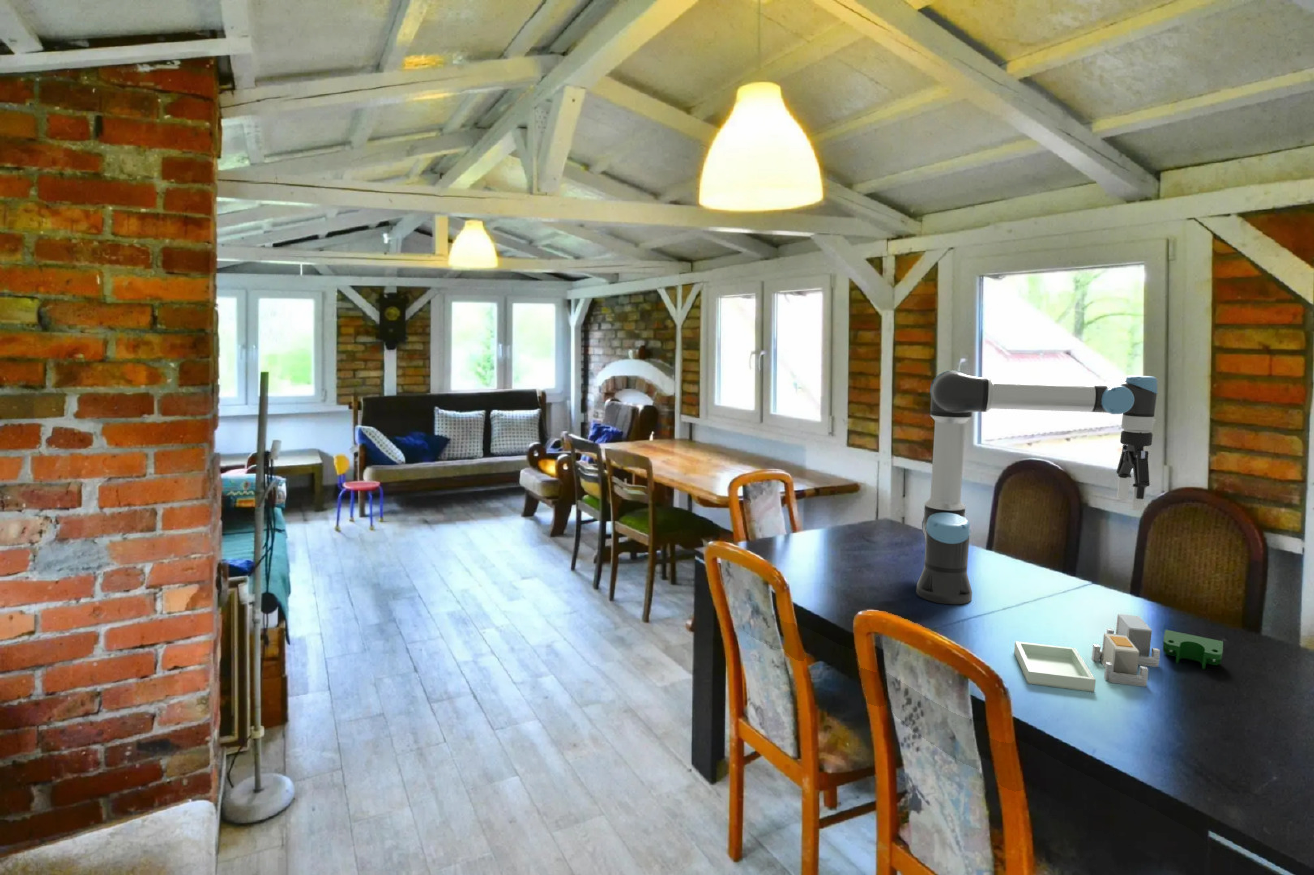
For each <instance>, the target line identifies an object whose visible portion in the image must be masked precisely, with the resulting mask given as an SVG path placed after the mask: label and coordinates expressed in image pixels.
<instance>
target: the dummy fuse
mask: <svg viewBox="0 0 1314 875" xmlns="http://www.w3.org/2000/svg"><path fill="white" fill-rule="evenodd" d="M1116 620H1117V621H1116V627H1115V628H1116V629H1115V634H1116V635H1124V636H1127V637H1128V639H1129V640H1130V641H1131V642H1132V643H1133V645H1134V646H1135V647H1136V648H1137V649H1138V651H1139V655H1141V656H1150V654H1151V652H1150V650H1151V644H1152V643H1151V642H1152V635H1153V632H1152V631H1153V630H1152V629H1151V628H1150V626H1149V625H1148V624H1147V623H1146V622H1145V621H1144V619H1142V617H1141V616H1139V615H1131V614H1130V615H1129V614H1123V613H1122V614H1119V613H1118V614H1117V619H1116Z"/></svg>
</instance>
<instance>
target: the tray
mask: <svg viewBox="0 0 1314 875" xmlns="http://www.w3.org/2000/svg"><path fill="white" fill-rule="evenodd" d="M1013 652H1014V655H1015V658H1016V660H1017V662H1018V665H1019V667H1020V670H1021V671H1022V674H1023V676H1024V678H1025V681H1026V683H1027V684H1028V685H1029V684H1030V685H1036V686H1037V685H1038V686H1043V687H1052V688H1060V689H1067V690H1075V691H1083V692H1089V693H1090V692H1091V693H1095V688H1096V678H1095V677H1094V675H1093V674H1092V673H1093V672H1092V671H1091V670H1090V669H1089V667H1088V666H1087V663H1086V662H1085V661H1084V659H1083V658H1082V656H1081V655H1080V652H1079V651H1078V650H1077V648H1076V647H1069V646H1060V645H1050V644H1042V643H1033V642H1025V641H1017V640H1015V641H1014V651H1013Z"/></svg>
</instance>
